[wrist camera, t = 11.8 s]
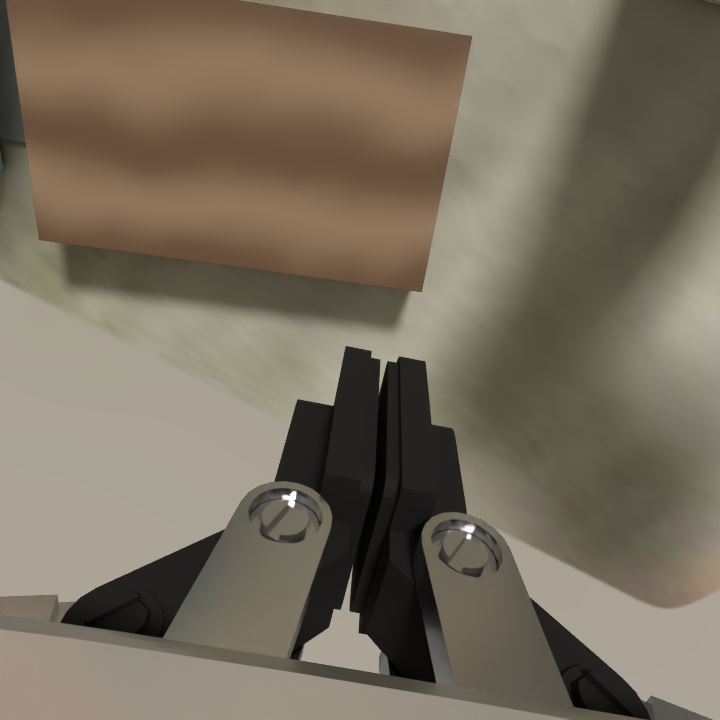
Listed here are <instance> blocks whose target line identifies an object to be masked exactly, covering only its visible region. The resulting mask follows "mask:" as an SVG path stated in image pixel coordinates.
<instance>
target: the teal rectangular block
mask: <svg viewBox="0 0 720 720" xmlns="http://www.w3.org/2000/svg"><path fill="white" fill-rule="evenodd" d="M3 170H4V168H3V163H2V157H1V151H0V171H3Z"/></svg>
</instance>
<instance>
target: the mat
mask: <svg viewBox="0 0 720 720" xmlns="http://www.w3.org/2000/svg"><path fill="white" fill-rule="evenodd" d="M0 139H3V140H10V141H17V142H24V143H26V142H25V135H24V128H23V121H22V113H21V106H20V99H19V92H18V85H17V78H16V71H15V63H14V56H13V49H12V42H11V35H10V28H9V21H8V13H7V6H6V0H0Z"/></svg>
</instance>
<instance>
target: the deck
mask: <svg viewBox="0 0 720 720" xmlns="http://www.w3.org/2000/svg"><path fill="white" fill-rule="evenodd" d="M6 6H7V13H8V21H9V28H10V35H11V42H12V49H13V56H14V63H15V71H16V78H17V85H18V92H19V99H20V106H21V113H22V121H23V128H24V135H25V142H26V149H27V156H28V163H29V171H30V178H31V185H32V192H33V199H34V206H35V214H36V221H37V228H38V235H39V240H43V241H50V242H58V243H65V244H72V245H80V246H87V247H94V248H102V249H109V250H116V251H124V252H131V253H138V254H146V255H153V256H160V257H168V258H175V259H182V260H190V261H197V262H205V263H212V264H219V265H227V266H234V267H241V268H249V269H256V270H263V271H271V272H278V273H285V274H293V275H300V276H307V277H315V278H322V279H329V280H337V281H344V282H351V283H359V284H366V285H373V286H381V287H388V288H395V289H403V290H410V291H417V292H422V288H423V283H424V278H425V273H426V268H427V263H428V258H429V253H430V248H431V243H432V238H433V233H434V228H435V223H436V218H437V212H438V207H439V202H440V197H441V192H442V187H443V182H444V177H445V172H446V167H447V162H448V157H449V152H450V147H451V142H452V136H453V131H454V126H455V121H456V116H457V111H458V106H459V101H460V96H461V91H462V86H463V81H464V76H465V71H466V66H467V60H468V55H469V50H470V45H471V40H472V36H467V35H460V34H454V33H447V32H441V31H434V30H428V29H421V28H415V27H408V26H402V25H395V24H389V23H382V22H376V21H369V20H363V19H356V18H350V17H343V16H337V15H330V14H324V13H317V12H311V11H304V10H298V9H291V8H285V7H278V6H272V5H265V4H259V3H252V2H246V1H239V0H6Z"/></svg>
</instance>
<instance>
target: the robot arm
mask: <svg viewBox="0 0 720 720" xmlns="http://www.w3.org/2000/svg"><path fill="white" fill-rule="evenodd" d="M705 1H707V2H709V3H714V4H718V5H720V0H705ZM379 377H380V360H379V359H374V358H371V351H369V350H363V349H358V348H353V347H348V346H346V348H345V352H344V357H343V362H342V367H341V372H340V377H339V382H338V387H337V392H336V397H335V402H334V406H330V405H325V404H320V403H315V402H309V401H304V400H299V399H298V400H297V403H296V406H295V410H294V413H293V417H292V421H291V424H290V428H289V431H288V435H287V439H286V443H285V446H284V449H283V453H282V457H281V460H280V464H279V467H278V471H277V475H276V478H275V482H270V483H267V484H263V485H260V486H258V487H256V488H255V489H253V490H251V491H250V492H248V494H247V495H246V496H245V497H244V498H243V499H242V501H241V502H240V504H239V506H238V507H237V509H236V511H235V513H234V514H233V516H232V518H231V520H230V522H229V523H228V525H227V527H226V529H224V530H222V531H220V532H218V533H215V534H213V535H211V536H209V537H207V538H205V539H203V540H200V541H198V542H196V543H194V544H191V545H189V546H187V547H185V548H183V549H180V550H178V551H176V552H174V553H172V554H170V555H167V556H165V557H163V558H161V559H159V560H156V561H154V562H152V563H150V564H148V565H145V566H144V567H141V568H139V569H137V570H134V571H132V572H130V573H128V574H126V575H124V576H121V577H119V578H117V579H115V580H113V581H110V582H108V583H106V584H104V585H102V586H99V587H97V588H95V589H94V590H92V591H90V592H89V593H87V594H85V595H84V596H82V597H80V599H78V600H77V601H76V602H61V603H58V596H57V595H38V596H37V595H36V596H9V597H0V720H712V719H709V718H707V717H705V716H702V715H699V714H697V713H694V712H692V711H689V710H687V709H684V708H681V707H679V706H676V705H673V704H671V703H668V702H666V701H664V700H661V699H659V698H656V697H653V696H650V698H649V699H648V701H646V702H644V701H642V700H640V698H639V697H638V695H637V693H636V692H635V691H634V690H633V689H632V688H631V687H630V686H629V684H628V683H627V682H626V681H625V680H624V679H623V678H622V677H621V676H619V675H618V674H617V673H616V672H615V671H614V670H613V669H612V668H610V667H609V666H608V665H607V664H606V663H605V662H603V661H602V660H601V659H600V658H599V657H598V656H597V655H595V654H594V653H593V652H592V651H591V650H590V649H589V648H587V647H586V646H585V645H584V644H583V643H582V642H581V641H579V640H578V639H577V638H576V637H575V636H573V635H572V634H571V633H570V632H569V631H568V630H567V629H566V628H564V627H563V626H562V625H561V624H560V623H559V622H558V621H556V620H555V619H554V618H553V617H552V616H550V615H549V614H548V613H547V612H546V611H545V610H544V609H543V608H542V607H540V606H539V605H538V604H537V603H536V602H535V601H533V600H532V599H531V598H530V597H529V595H528V592H527V590H526V587H525V585H524V582H523V580H522V577H521V575H520V573H519V570H518V568H517V565H516V563H515V560H514V558H513V555H512V553H511V550H510V548H509V546H508V545H507V543H506V541H505V540H504V538H503V537H502V536H501V535H500V534H499V533H498V532H497V531H496V530H495V529H494V528H493V527H492V526H490V525H489V524H487V523H486V522H484V521H483V520H481V519H478V518H476V517H474V516H471V515H469V514H467V511H466V504H465V498H464V491H463V485H462V478H461V472H460V465H459V459H458V452H457V446H456V439H455V434H454V430H453V429H452V428H447V427H442V426H436V425H432V424H431V414H430V403H429V393H428V383H427V373H426V363H425V361H420V360H415V359H410V358H405V357H400V356H399V358H398V360H397V363H395V362H390V361H388V362H387V365H386V369H385V373H384V377H383V381H382V385H381V389H380V393H379ZM352 566H353V571H352V583H351V596H350V612H356V613H360V618H359V633H361V634H367V635H368V636H369V637H370V638H371V639H372V641H373V642H374V643H375V644H376V645H377V646H378V647H379V649H380V650H381V653H380V656H379V672H380V674H377V673H371V672H365V671H359V670H353V669H346V668H341V667H335V666H329V665H323V664H317V663H311V662H305V661H300V659H301V657H302V653H303V648H304V644H305V643H306V642H308V641H309V640H311V639H312V638H314V637H315V636H317V635H318V634H320V633H321V632H323V631H324V630H326V629H327V628H328V627H329V625H330V621H331V617H332V613H333V610H334V609H339V610H340V609H341V607H342V603H343V599H344V596H345V592H346V588H347V584H348V581H349V577H350V573H351V570H352Z"/></svg>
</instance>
